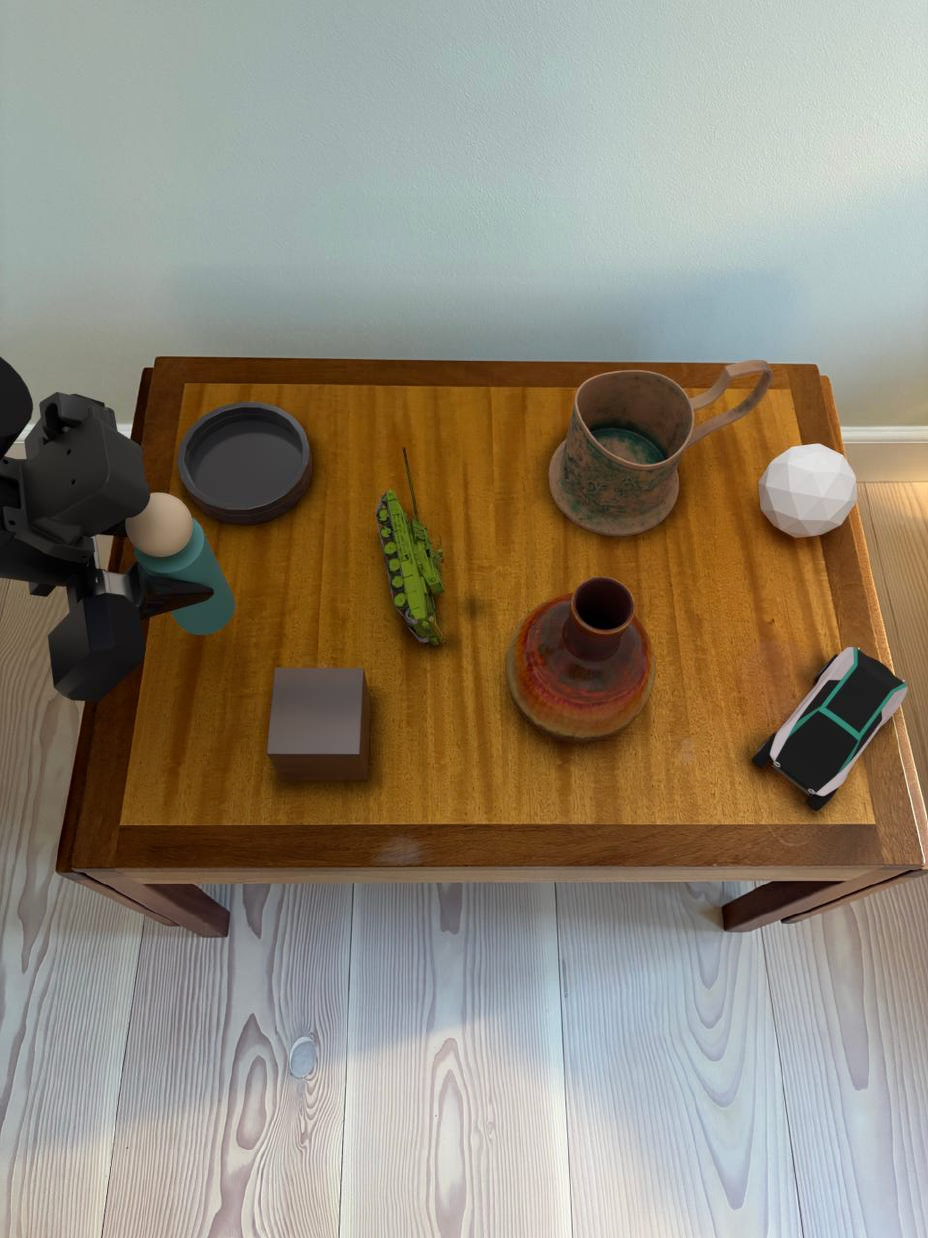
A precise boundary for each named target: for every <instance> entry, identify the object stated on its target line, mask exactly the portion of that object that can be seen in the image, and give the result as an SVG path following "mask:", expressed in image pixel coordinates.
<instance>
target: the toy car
mask: <svg viewBox="0 0 928 1238" xmlns="http://www.w3.org/2000/svg"><path fill="white" fill-rule="evenodd" d="M860 648H861V647H858V648H857V647H855V646H854V647H853V646H847V647H846V648H845V649H843V650H842V651H841V652H840V653H839V654H834V655H833V656H832V657H831V658H830V659H829V660H827V662H826V663H825V664H824V666H823V667H822V668H821V669H820V670H819V672H818V673H817V675H816V676H815V677H814V679H813V681H814V683H815V685H814V686H813V688H811V690H810V691H809V692H808V693H807V695H806V696H805V697H804V698H803V699H802V701H801V702H800V703H799V704H798V706H796V708H795V709H794V711H793V712H792V713H791V715H790V716H789V717H788V719H787V720H786V721H785V723H783V724H782V725H781V726H780V728H779V729H778V731H777V732H775V733H772V734H771V735H770V736H769V737H768V738H767V739H766V740H765V741H764V742H763V744H761V746H760V747H759V748H758V749H757V750H756V752H755V753H754V754H753V756H752V758H751V762H752V763H753V764H754V765H755V766H757V767H758V768H760V769H763V768H764V767H765V766H767V765H768V764H769V763H770V761H772V762H773V763H772V765H771V767H772V768H773V769H775V770H776V771H777V772H779V773H780V774H781V775H782V776H783V777H784V778H785V779H786V780H788V781H789V782H790V783H792V784H793V785H794V786H796V787H797V788H799V789H800V790H801V791H802V792H803V793H805V794H806V795H808V796H807V797H806V799H805V802H804V803H805V804H806V806H807V807H808V808H809V809H811V810H813V811H814V812H819V811H821V810H822V809H823V808H824V807H825V806H826V805H827V804H828V803H829V802H830V801H831V799H832V798H833V797H834V796H835V794H836V793H837V791H838V790H839V788H840V787H841V786H842V785H843V784H844V782H845V781H846V780H847V778H848V775H849V773H850V771H851V769H852V768H853V766H854V764H855V763H856V762H857V760H858V759H859V758H860V756H861V755H862V753H863V752H864V750H865V749H866V747H867V746H868V745H869V743H871V741H872V740H873V738H874V737H875V735H876V733H878V731H879V729H881V727H882V726H884V725H885V724H886V723H887V722H888V721H889V720H890V718H891V717H892V716H893V715H894V714H895V713H896V711H897V710H898V709H899V707H900V706H901V704H902V703H903V701H904V699H905V697H906V695H907V693H908V685H907V684H906V683H905V681H906V680H905V679H902V680H901V679H900V678H899V677H897V676H896V675H895V674H894V673H893V672H892V670H890V668H889V667H888V666H887V665H885V664H884V663H883V662H881V660H878V659H876V658H874V657H872V656H869V655H867V654H866V653H865V652H863V651H861V650H860Z"/></svg>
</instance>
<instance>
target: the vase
mask: <svg viewBox="0 0 928 1238" xmlns="http://www.w3.org/2000/svg"><path fill="white" fill-rule="evenodd" d="M635 602H636V601H635V599H634V596H633V593H632V591H631V590H630V589H629V587H627V585H625V584H624V583H623V582H621V581H619V580H618V579H615V578H613V577H610V576H605V575H604V576H603V575H601V576H600V575H598V576H597V575H596V576H591V577H588V578H586V579H585V580H583V581H582V582H581V583H579V584H578V585H577V586H576V588H575V589H574V590H573V592H567V593H562V594H558V595H556V596H553V597H549V598H548V599H546V600H545V601H542V602H540V603H539V604H538V605H536V606H535V607H534V608H533V609H531V610H529V612H528V613H527V614H526V615H525V616H524V617H523V618H522V619H521V621H520V622H519V624H518V626H517V627H516V628H515V629H514V631H513V634H512V636H511V638H510V641H509V644H508V648H507V651H506V657H505V678H506V684H507V688H508V693H509V694H510V697H511V699H512V702H513V704H514V705H515V708H517V710H518V712H519V714H520V715H521V716H522V717H523V718H524V719H525V720H526V721H527V723H528V724H530V725H531V726H532V727H533V728H534V729H536V730H537V731H538V732H540V733H542V734H544V735H545V736H547V737H549V738H551V739H554V740H557V741H560V742H564V743H569V744H570V743H573V744H590V743H594V742H599V741H603V740H605V739H608V738H610V737H613V736H614V735H616V734H617V733H620V732H621V731H623V730H625V728H626V727H628V726H629V725H630V724H632V722H634V721H635V720H636V718H637V717H638V716H639V715H640V713H642V711H643V709H644V708H645V706H646V704H647V703H648V701H649V699H650V697H651V695H652V691H653V688H654V684H655V680H656V670H657V669H656V667H657V666H656V655H655V649H654V646H653V643H652V640H651V637H650V636H649V633H648V631H647V629H646V627H645V626H644V624H643V623H642V622H641V621H640V618H638V617H637V616H636V615H635V612H636V603H635Z"/></svg>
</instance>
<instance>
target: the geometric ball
mask: <svg viewBox="0 0 928 1238" xmlns="http://www.w3.org/2000/svg"><path fill="white" fill-rule="evenodd" d="M757 484H758V495H759V504H760V505H759V506H760V511H761V512H762V513H763V515H764V516H765V517H766V518H767V520H768V521H769V522H770V523H771V525H772V526H773V527H775V528H777V529H778V530H780V531H781V532H784V534H787V535H789V536H791V537H793V538H794V539H797V538H807V537H815V536H822V535H824V534H826V533H829V532H830V531H832V530H835V529H836V528H838V527H840V526H842V524H843V523H844V521H845V520H846V519H847V517H848V515H849V514H850V512H851V511H852V509H853V508H854V506H855V505H856V503H857V502H858V486H857V485H858V484H857V476H856V474H855V472H854V470H853V469H852V467H851V465H850V463H848V461H847V459H846V458H845V456H844V454H841V453H839V452H838V451H836V450H833V449H831V448H830V447H827V446H825V445H823V444H822V443H811V444H804V445H795V446H791V447H790V448H788V449H787V450H785V451H784V452H782V453H781V454H780V455H778V456H776V457H775V458H773V459H772V460H771V461H770V462H769V464H768V466H767V467H766V468H765V470H764V472H763V474H762V475H761V477H760V479H759V480H758V483H757Z"/></svg>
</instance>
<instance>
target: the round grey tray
mask: <svg viewBox="0 0 928 1238" xmlns="http://www.w3.org/2000/svg"><path fill="white" fill-rule="evenodd" d="M176 465H177V469H178V473H179V477H180V480H181V482H182V484H183V487H184V489H185V490H186V491H185V492H186V493H187V494H188V495H189V498H190V499H191V501H192V502H193V503H194V505H195V506H196V507H197V508H198V509H199V510H200V511H202V512H203V513H204V514H206V516H209V517H211V518H212V519H215V520H217V521H220V522H221V523H222V522H223V523H226V524H231V525H241V526H247V525H255V524H261V523H264V522H268V521H271V520H274V519H276V518H278V517H280V516H282V515H284V514H286V513H287V512H288V511H290V510H291V509H292V508H293V507H294V506H296V505H297V504H298V503H299V501H300V500H301V499H302V498H303V496H304V495H305V493H306V492H307V490H308V488H309V486H310V484H311V481H312V477H313V471H314V470H313V454H312V451H311V447H310V443H309V440H308V436H307V434H306V431H305V429H304V428H303V426H302V425H301V423H300V422H299V421H298V420H297V419H296V417H294V416H293V415H291V414H290V413H288V412H287V411H285V410H283V409H282V408H280V407H278V406H275V405H272V404H269V403H264V402H260V401H239V402H235V403H230V404H226V405H221V406H219V407H217V408H214V409H213V410H211V411H209V412H207V413H205V414H204V415H202V416H201V417H200V418H199V419H198V420H197V421H195V422H194V423H193V424H192V425H191V426H190V427H189V428H188V430H187V432H186V433H185V435H184V437H183V439H182V440H181V442H180V443H179V448H178V454H177V459H176Z"/></svg>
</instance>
